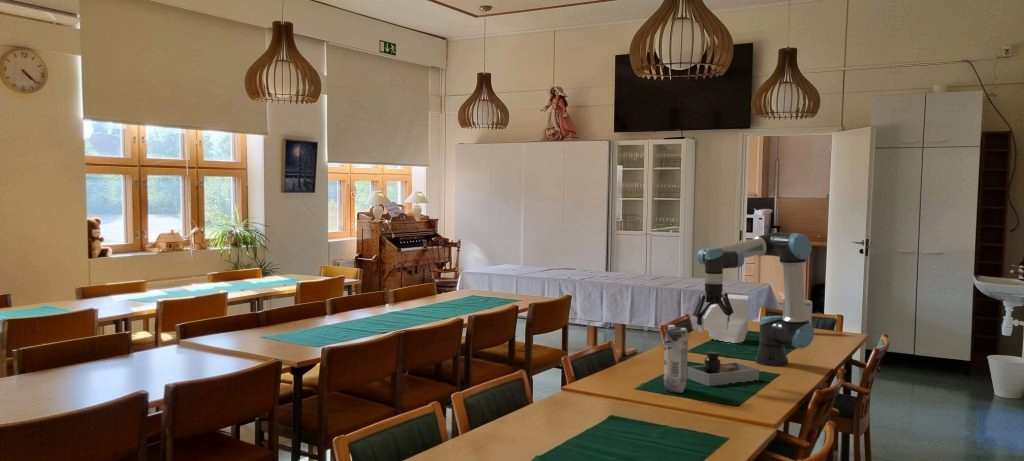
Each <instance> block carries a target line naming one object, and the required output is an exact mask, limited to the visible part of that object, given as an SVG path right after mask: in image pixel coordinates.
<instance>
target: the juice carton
mask: <svg viewBox="0 0 1024 461" xmlns="http://www.w3.org/2000/svg"><path fill="white" fill-rule="evenodd" d="M667 327H668V328H667V329H666V330H665V336H664V348H663V349H664V352H663V353H664V354H663V355H664V356H663V357H664V359H663V363H664V364H663V385H664V391H665V392H671V393H681V394H682V393H683V392H684V391H685V388H686V385H687V381H688V378H687V373H688V355H689V354H688V352H689V351H688V350H689V349H688V348H689V346H688V343H689V337H688V336H689V335H688V329H687V327H680V326H679V327H678V326H676V325H674V324H670V325H668V326H667Z"/></svg>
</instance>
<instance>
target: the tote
mask: <svg viewBox="0 0 1024 461" xmlns="http://www.w3.org/2000/svg"><path fill="white" fill-rule="evenodd" d="M723 365H731V366H735V367H737V371H733V372H724V373H715V374H708V373H705V372H704V365H696V366H695V365H693V366H687V380H691V381H694V382H696V383H699V384H700V385H701V384H702V385H704V386H707V387H713V386H714V387H715V386H722V385H723V384H724V385H730V384H729V383H732V384H737V383H736V382H741V383H747V381H749V382H755V381H754V380H757V381H759V380H760V369H759V368H756V367H753V366H751V365H746V364H743V363H740V362H737V361H736V362H735V361H734V362H725V363H720V366H723Z"/></svg>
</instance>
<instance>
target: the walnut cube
mask: <svg viewBox="0 0 1024 461" xmlns="http://www.w3.org/2000/svg"><path fill="white" fill-rule="evenodd" d="M733 371H737V367H735V366H731V365H723V366H720V373H724V372H733Z"/></svg>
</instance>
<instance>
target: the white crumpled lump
mask: <svg viewBox="0 0 1024 461" xmlns="http://www.w3.org/2000/svg"><path fill="white" fill-rule="evenodd" d="M727 294H728V299H729V302H730V304H731V307H732V309H733V313H731V315H729V322H728V330H724V329H723V315H725V314H724V312H723V311H722V309H721V308H720V307H719V305H718V304H711V305H710V306H709V308H708V309H707V311H706V312H705V314H704V315H703V316H702V318H704V331H707V332H708V334H709V338H711V339H713V340H714V341H716V340H719V341H724V342H731V343H739V342H743V341H745V339H746V336H747V333H748V332H749V331H750V330H749V321H750V317H751V308H750V302H749V299H750V296H749V295H742V294H741V295H740V294H731V293H730V294H729V293H727ZM721 300H722V301H723V299H722V298H721ZM723 304H724V301H723ZM724 305H725V304H724ZM724 342H723V343H724ZM743 343H744V342H743Z"/></svg>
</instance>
